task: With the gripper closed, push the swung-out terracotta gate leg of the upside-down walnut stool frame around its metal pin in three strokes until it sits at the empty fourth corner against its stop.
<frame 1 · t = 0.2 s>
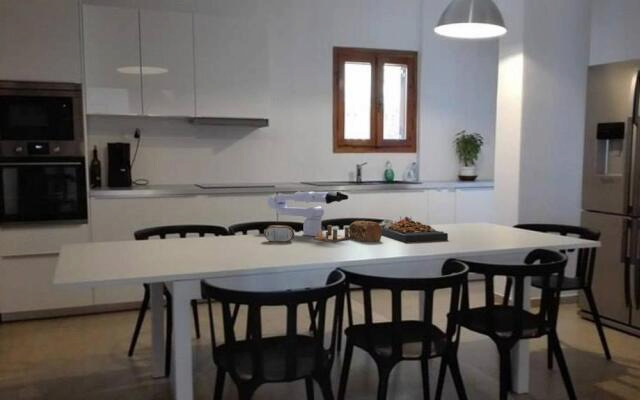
hand: (343, 197, 291), 22 cm above the table, tool horizontal, fingers open, 7 cm apart
stool frame: (332, 239, 290), on the table
food platter: (406, 236, 305), on the table
bread: (364, 240, 290), on the table
tin: (279, 242, 282), on the table
gate leg: (322, 233, 282), point 4 cm above the table, hinge at 90.0°
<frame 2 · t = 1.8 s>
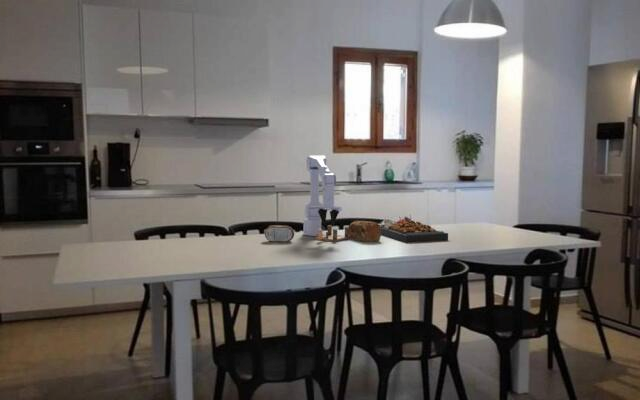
hand: (328, 224, 277), 9 cm above the table, tool pointing down, fingers open, 5 cm apart
nothing on the table moved.
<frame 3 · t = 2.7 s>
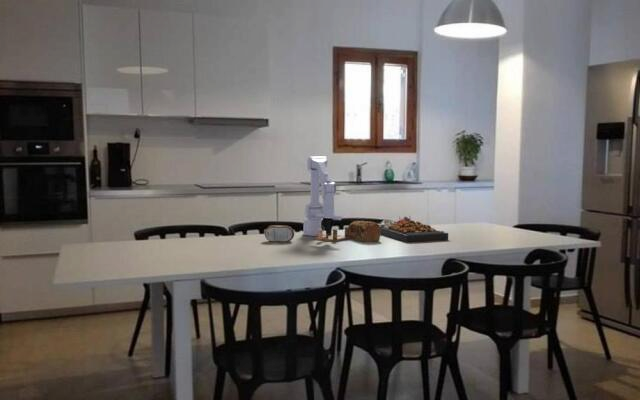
hand: (328, 233, 278), 5 cm above the table, tool pointing down, fingers closed
nothing on the table moved.
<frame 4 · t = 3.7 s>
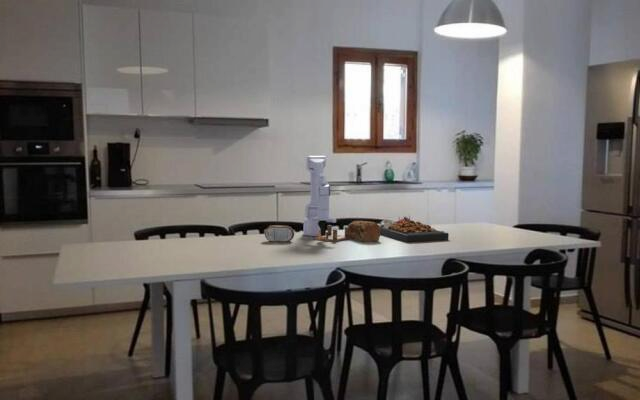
hand: (323, 235, 280), 3 cm above the table, tool pointing down, fingers closed, pressing on gate leg
gate leg: (322, 233, 282), point 4 cm above the table, hinge at 89.4°, touching gripper
everything else where it was.
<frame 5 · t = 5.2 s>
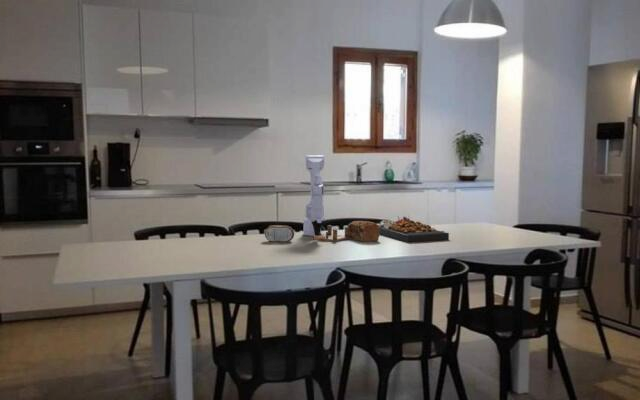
hand: (317, 235, 281), 3 cm above the table, tool pointing down, fingers closed, pressing on gate leg
gate leg: (319, 233, 284), point 4 cm above the table, hinge at 54.4°, touching gripper
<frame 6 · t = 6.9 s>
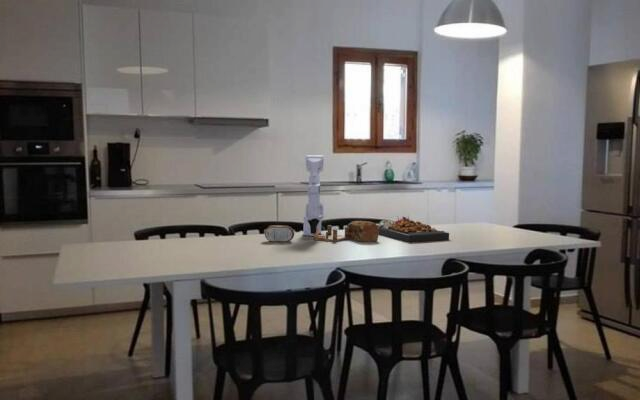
hand: (313, 233, 286), 4 cm above the table, tool pointing down, fingers closed, pressing on gate leg
gate leg: (319, 232, 287), point 4 cm above the table, hinge at 18.2°, touching gripper
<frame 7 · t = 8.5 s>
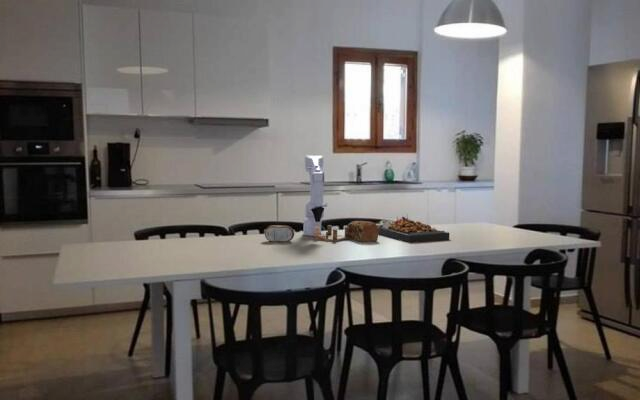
hand: (317, 221, 284), 10 cm above the table, tool pointing down, fingers closed
gate leg: (320, 232, 287), point 4 cm above the table, hinge at 5.6°
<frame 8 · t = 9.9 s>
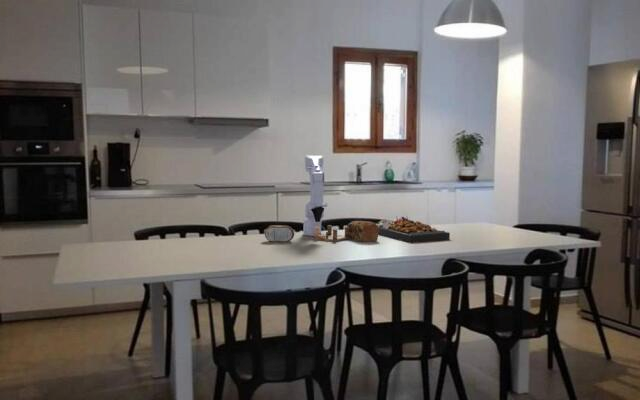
hand: (317, 221, 284), 10 cm above the table, tool pointing down, fingers closed
at the end: gate leg at +6° (first picture: +90°); bread moved 1.7 cm from its start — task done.
